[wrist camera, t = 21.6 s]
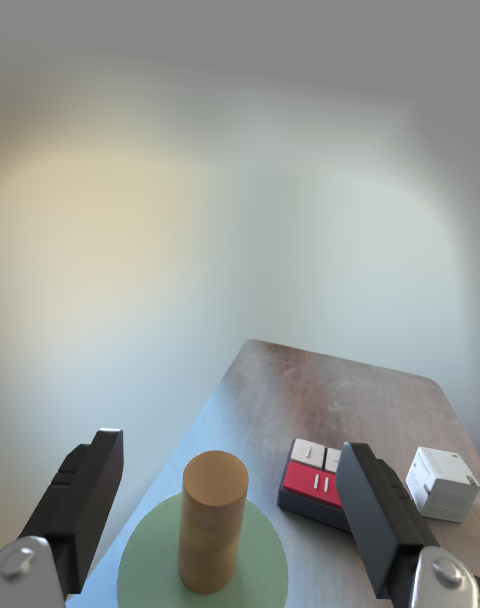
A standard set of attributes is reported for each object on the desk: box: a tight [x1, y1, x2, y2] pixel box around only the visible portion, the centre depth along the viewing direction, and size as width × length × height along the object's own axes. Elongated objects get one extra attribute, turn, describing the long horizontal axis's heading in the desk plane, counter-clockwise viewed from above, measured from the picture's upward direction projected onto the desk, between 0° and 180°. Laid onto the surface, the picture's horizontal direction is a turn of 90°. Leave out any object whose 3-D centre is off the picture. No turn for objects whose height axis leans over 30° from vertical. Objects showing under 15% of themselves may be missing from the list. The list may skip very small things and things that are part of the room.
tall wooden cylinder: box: [178, 450, 249, 594], centre depth 27 cm, size 5×5×10 cm
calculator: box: [277, 438, 352, 533], centre depth 47 cm, size 11×4×15 cm
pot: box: [117, 492, 288, 608], centre depth 30 cm, size 15×17×10 cm
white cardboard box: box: [406, 447, 480, 523], centre depth 47 cm, size 6×6×7 cm
